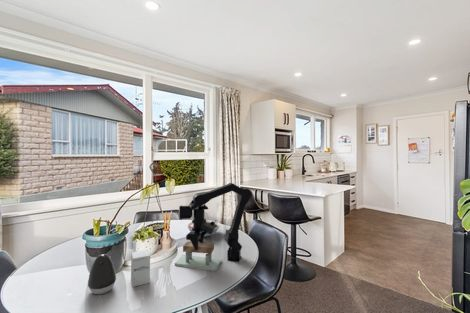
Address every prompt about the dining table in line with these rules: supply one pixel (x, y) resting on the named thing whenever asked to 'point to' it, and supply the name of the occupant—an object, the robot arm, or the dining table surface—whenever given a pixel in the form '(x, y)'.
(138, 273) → the supplement box
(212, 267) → the peg base
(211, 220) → the ramen bowl
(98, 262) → the tapered speaker
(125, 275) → the dining table surface
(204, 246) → the brown rectangular block
